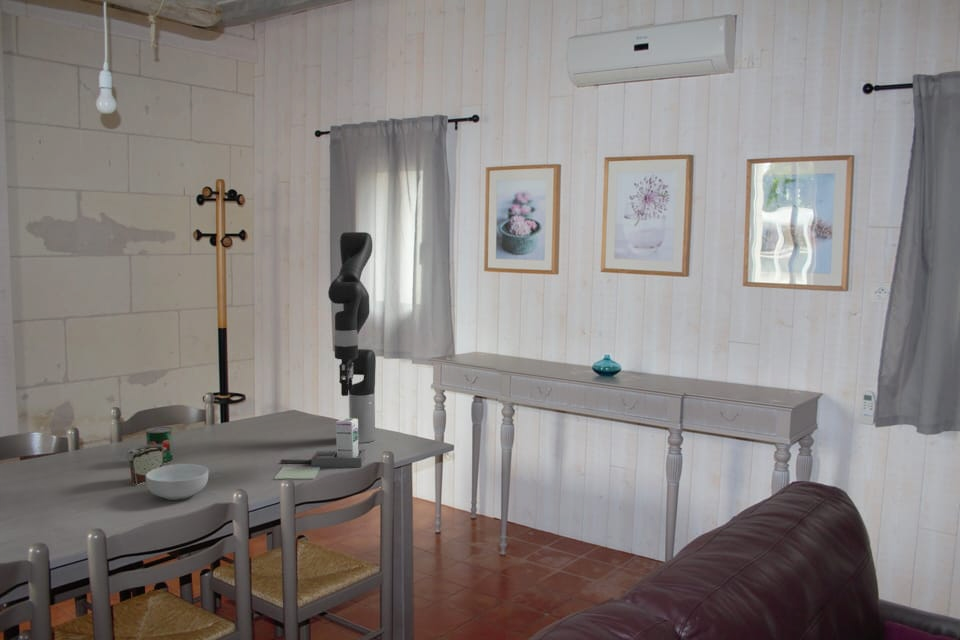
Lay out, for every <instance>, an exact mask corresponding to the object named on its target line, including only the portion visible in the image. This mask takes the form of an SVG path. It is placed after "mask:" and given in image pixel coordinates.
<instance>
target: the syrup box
mask: <svg viewBox="0 0 960 640" xmlns="http://www.w3.org/2000/svg"><path fill="white" fill-rule="evenodd" d="M335 436H336V437H335V438H336V439H335V440H336V441H335V443H336V450H337V457H359V450H360V443H359V434H358V419H356V418H349V417H342V418H341V419H339V420H337V421H335Z"/></svg>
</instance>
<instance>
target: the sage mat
mask: <svg viewBox="0 0 960 640" xmlns="http://www.w3.org/2000/svg"><path fill="white" fill-rule="evenodd" d="M320 470H321V467H312V466H311V467H310V466H282V467H281V469H280V470H279V471H278V473H277V474H276V475H275V476H274V478H273V480H274V479H281V480H282V479H284V480H286V479H285V478H291V479H290V480H314V479H315V477H316V476H317V474H318V473H319V471H320ZM282 481H283V480H282Z"/></svg>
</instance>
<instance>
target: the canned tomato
mask: <svg viewBox="0 0 960 640" xmlns="http://www.w3.org/2000/svg"><path fill="white" fill-rule="evenodd" d="M172 433H173V432H172V427H170V426H154V427H149V428H147V429H146V430H145V437H146V441H145V442H146V445H163V447H164V450H165V451H163V464H164V463H168V462H171V461H172V460H173V461H174V458H173V456H174V455H173V436H172V435H173V434H172ZM173 461H172V462H173ZM172 462H171V463H172ZM168 464H169V463H168ZM164 465H165V464H164Z"/></svg>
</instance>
